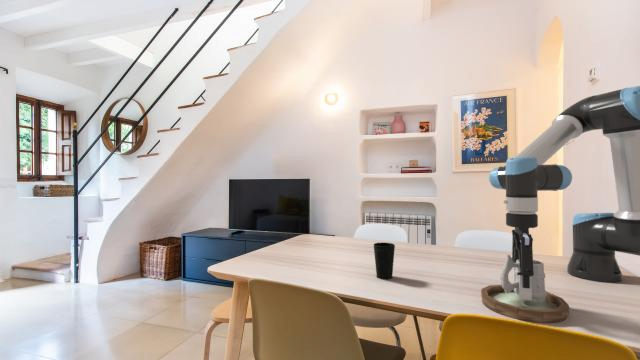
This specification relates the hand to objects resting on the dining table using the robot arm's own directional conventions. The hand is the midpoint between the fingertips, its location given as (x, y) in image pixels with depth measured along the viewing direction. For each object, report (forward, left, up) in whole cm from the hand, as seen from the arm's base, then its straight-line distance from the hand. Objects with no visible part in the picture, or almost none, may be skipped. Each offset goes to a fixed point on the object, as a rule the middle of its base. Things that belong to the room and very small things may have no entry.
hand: (522, 293), depth 88 cm
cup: (+41, -13, -4) cm, 43 cm away
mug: (0, +1, -1) cm, 1 cm away
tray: (0, 0, -4) cm, 4 cm away
